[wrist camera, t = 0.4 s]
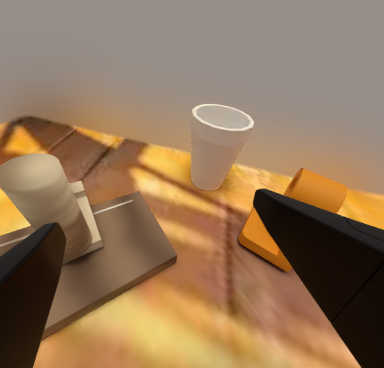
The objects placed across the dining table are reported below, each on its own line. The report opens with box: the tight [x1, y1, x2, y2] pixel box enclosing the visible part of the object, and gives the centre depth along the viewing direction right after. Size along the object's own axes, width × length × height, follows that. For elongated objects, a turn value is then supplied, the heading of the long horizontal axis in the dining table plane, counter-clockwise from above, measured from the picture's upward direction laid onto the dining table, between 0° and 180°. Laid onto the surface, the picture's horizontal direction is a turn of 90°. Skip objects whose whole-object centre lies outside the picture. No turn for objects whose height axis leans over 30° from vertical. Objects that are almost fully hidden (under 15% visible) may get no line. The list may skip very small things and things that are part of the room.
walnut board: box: [0, 191, 177, 340], centre depth 18 cm, size 30×12×2 cm, turn 124°
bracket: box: [239, 168, 347, 272], centre depth 25 cm, size 11×7×12 cm
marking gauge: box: [0, 154, 104, 264], centre depth 19 cm, size 5×10×14 cm, turn 34°
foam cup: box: [190, 104, 254, 191], centre depth 31 cm, size 10×9×13 cm
